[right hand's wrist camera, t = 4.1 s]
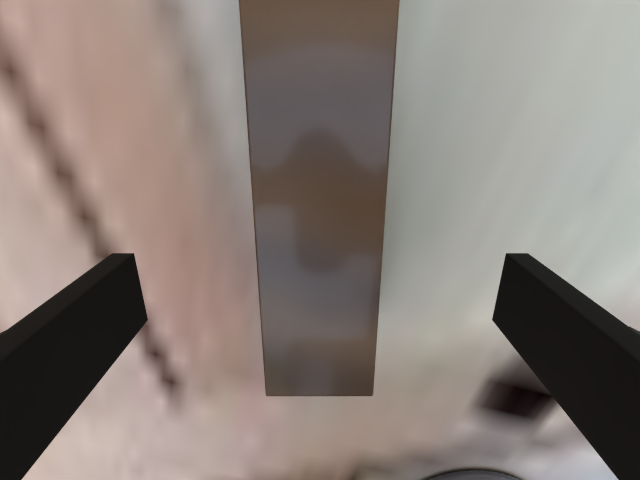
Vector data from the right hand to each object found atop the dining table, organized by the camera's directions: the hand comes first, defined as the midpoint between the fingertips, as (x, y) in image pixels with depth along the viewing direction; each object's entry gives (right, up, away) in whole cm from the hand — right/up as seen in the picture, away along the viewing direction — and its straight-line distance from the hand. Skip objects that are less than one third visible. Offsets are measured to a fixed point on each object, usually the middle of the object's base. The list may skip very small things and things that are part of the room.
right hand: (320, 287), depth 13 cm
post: (0, +21, +3) cm, 21 cm away
